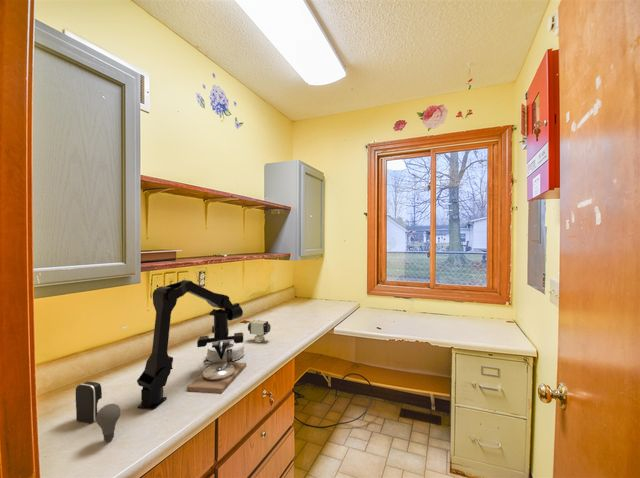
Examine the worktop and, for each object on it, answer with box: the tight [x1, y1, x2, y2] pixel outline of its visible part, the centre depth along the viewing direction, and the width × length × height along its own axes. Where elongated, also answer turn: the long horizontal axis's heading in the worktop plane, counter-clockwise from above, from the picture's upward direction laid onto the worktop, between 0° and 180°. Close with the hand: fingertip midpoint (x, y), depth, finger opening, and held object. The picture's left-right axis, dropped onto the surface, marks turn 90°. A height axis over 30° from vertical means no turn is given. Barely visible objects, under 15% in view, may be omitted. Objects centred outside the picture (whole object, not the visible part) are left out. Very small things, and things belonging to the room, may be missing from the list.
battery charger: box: [75, 381, 103, 424], centre depth 90 cm, size 7×4×11 cm, turn 76°
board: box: [186, 361, 247, 394], centre depth 116 cm, size 22×14×2 cm, turn 171°
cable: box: [203, 340, 246, 365], centre depth 137 cm, size 18×18×6 cm
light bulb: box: [95, 403, 121, 442], centre depth 80 cm, size 6×6×10 cm
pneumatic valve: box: [247, 319, 272, 344], centre depth 156 cm, size 6×12×12 cm, turn 74°
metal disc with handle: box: [202, 349, 234, 381], centre depth 117 cm, size 15×12×6 cm
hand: (221, 359), depth 124 cm, fingers closed
